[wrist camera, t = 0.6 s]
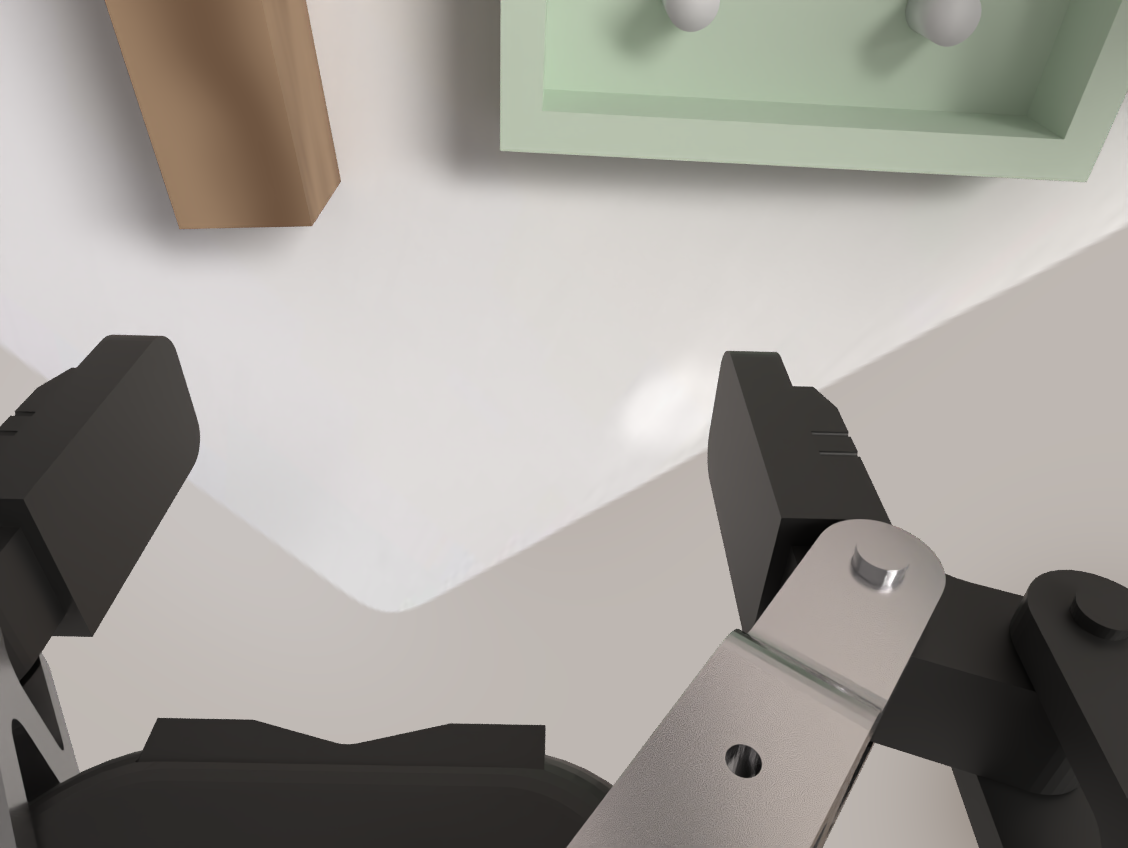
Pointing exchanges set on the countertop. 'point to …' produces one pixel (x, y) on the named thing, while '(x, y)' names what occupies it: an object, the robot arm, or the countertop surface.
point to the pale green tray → (819, 82)
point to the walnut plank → (231, 108)
